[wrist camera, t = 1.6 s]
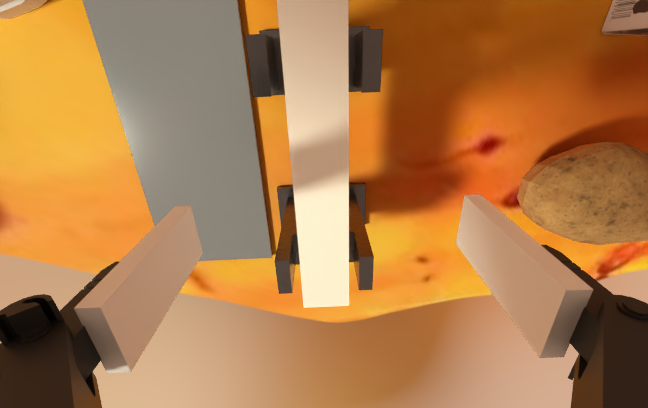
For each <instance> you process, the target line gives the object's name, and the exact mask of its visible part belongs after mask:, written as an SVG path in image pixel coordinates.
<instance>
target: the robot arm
mask: <svg viewBox="0 0 648 408" xmlns="http://www.w3.org/2000/svg"><path fill="white" fill-rule="evenodd" d="M456 245H457V246H458V247H459V249H460V250H461V251H462V253H463V254H464V255H465V257H466V258H467V260H468V261H469V262H470V264H471V265H472V266H473V268H474V269H475V270H476V272H477V273H478V275H479V276H480V277H481V279H482V280H483V281H484V283H485V284H486V285H487V287H488V288H489V289H490V291H491V292H492V294H493V295H494V296H495V298H496V299H497V300H498V302H499V303H500V304H501V306H502V307H503V308H504V310H505V311H506V313H507V314H508V315H509V317H510V318H511V319H512V321H513V322H514V323H515V325H516V326H517V328H518V329H519V330H520V332H521V333H522V334H523V336H524V337H525V338H526V340H527V341H528V343H529V344H530V345H531V347H532V348H533V349H534V351H535V352H536V353H537V355H538V356H539V357H540V358H546V357H547V358H548V357H564V355H565V353H566V351H567V348H568V346H569V344H571V345H572V346H573V347H574V348H575V349H576V350H577V351H578V353H579V355H578V358H577V359H576V362H575V364H574V366H573V368H572V370H571V372H570V374H569V376H568V378H569V379H571V380H573V378H574V382H573V392H572V401H571V408H648V304H647V303H645V302H642V301H640V300H637V299H635V298H631V297H627V296H623V295H613V294H612V293H611V292H610V291H608V290H607V289H606V288H604V287H603V286H602V285H601V284H600V283H598V282H597V281H596V280H595V279H593V278H592V277H591V276H590V275H588V274H587V273H586V272H585V271H583V270H581V268H580V267H578V266H577V265H576V264H575V263H572V261H571V260H570V259H568V258H567V257H566V256H565V255H563V254H562V253H561V252H559V251H557V250H555V249H553V248H551V247H549V246H547V245H540V244H539V243H538V242H537V241H535V240H534V239H533V238H532V237H531V236H529V235H528V234H527V233H526V232H525V231H523V230H522V229H521V228H520V227H519V226H518V225H516V224H515V223H514V222H513V221H512V220H510V219H509V218H508V217H507V216H506V215H504V214H503V213H502V212H501V211H500V210H499V209H497V208H496V207H495V206H494V205H493V204H491V203H490V202H489V201H488V200H487V199H486V198H484V197H483V196H482V195H481V194H479V195H465V196H464V201H463V207H462V213H461V218H460V224H459V230H458V235H457V241H456ZM202 254H203V252H202V248H201V244H200V240H199V236H198V232H197V228H196V224H195V220H194V216H193V212H192V208H191V206H175V207H174V208H173V209H172V210H171V211H170V212H169V213H168V214H167V215H166V216H165V217H164V218H163V219H162V220H161V221H160V222H159V223H158V224H157V225H156V226H155V227H154V228H153V229H152V230H151V231H150V232H149V233H148V234H147V235H146V236H145V237H144V238H143V239H142V240H141V241H140V242H139V243H138V244H137V245H136V246H135V247H134V248H133V249H132V250H131V251H130V252H129V253H128V254H127V255H126V256H125V257H124V258H123V259H122V260H121V261H120V262H115V263H113V264H111V265H110V266H108V267H106V268H105V269H103V270H102V271H101V272H100V273H99V274H98V275H97V276H96V277H95V278H93V279H92V282H89V283H88V284H87V285H86V286H85V287H84V290H81V291H80V292H79V293H78V294H77V295H76V296H75V297H74V298H73V299H72V300H71V301H70V302H69V303H68V304H67V305H66V306H64V307H63V308H62V310H60V311H59V310H58V308H57V306H56V304H55V303H54V301H53V299H52V298H51V296H49V295H44V294H43V295H34V296H31V297H27V298H24V299H21V300H19V301H17V302H15V303H12V304H10V305H9V306H7V307H6V308H4V309H2V310H1V311H0V341H1V342H2V343H1V344H0V408H102V405H101V400H100V395H99V390H98V384H97V379H96V377H95V375H94V374H93V370H94V369H95V367H96V366H97V365H98V363H99V362H100V361H101V362H102V364H103V366H104V368H105V370H106V372H107V373H115V372H117V373H118V372H131V371H132V369H133V368H134V366H135V364H136V363H137V361H138V359H139V358H140V356H141V354H142V353H143V351H144V349H145V348H146V346H147V345H148V343H149V341H150V340H151V338H152V336H153V335H154V333H155V331H156V330H157V328H158V326H159V325H160V323H161V321H162V320H163V318H164V317H165V315H166V313H167V312H168V310H169V308H170V307H171V305H172V303H173V301H174V300H175V298H176V297H177V295H178V293H179V292H180V290H181V288H182V287H183V285H184V284H185V282H186V280H187V279H188V277H189V275H190V274H191V272H192V270H193V269H194V267H195V265H196V264H197V262H198V260H199V259H200V257H201V255H202Z"/></svg>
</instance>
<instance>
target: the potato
mask: <svg viewBox="0 0 648 408" xmlns="http://www.w3.org/2000/svg"><path fill="white" fill-rule="evenodd" d="M517 198H518V201H519V203H520V206H521V209H522V211H523V213H524V214H525V215H526V216H527V217H528V218H530V219H531V220H532V221H533V222H535V223H536V224H537V225H539V226H540V227H542V228H543V229H545V230H547V231H550V232H552V233H554V234H557V235H559V236H562V237H565V238H568V239H570V240H573V241H577V242H582V243H589V244H596V245H604V244H612V243H624V242H637V241H647V240H648V154H646V153H644V152H642V151H640V150H638V149H636V148H634V147H632V146H629V145H627V144H624V143H621V142H599V143H593V144H586V145H580V146H578V147H575V148H573V149H570V150H568V151H565V152H562V153H559V154H556V155H553V156H551V157H549V158H547V159H545V160H544V161H542V162H540V163H538V164H536V165H535V166H534V167H532V168H531V169H530V171H529V172H528V173H527V174H526V175H525V176H524V177H523V179H522V181H521V185H520V188H519V192H518V195H517Z"/></svg>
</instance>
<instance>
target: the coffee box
mask: <svg viewBox="0 0 648 408" xmlns="http://www.w3.org/2000/svg"><path fill="white" fill-rule="evenodd" d="M601 32H602V34H607V35H629V36H648V0H613V1H612V4H611V7H610V9H609V12H608V14H607V17H606V20H605V22H604V25H603V28H602V30H601Z"/></svg>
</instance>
